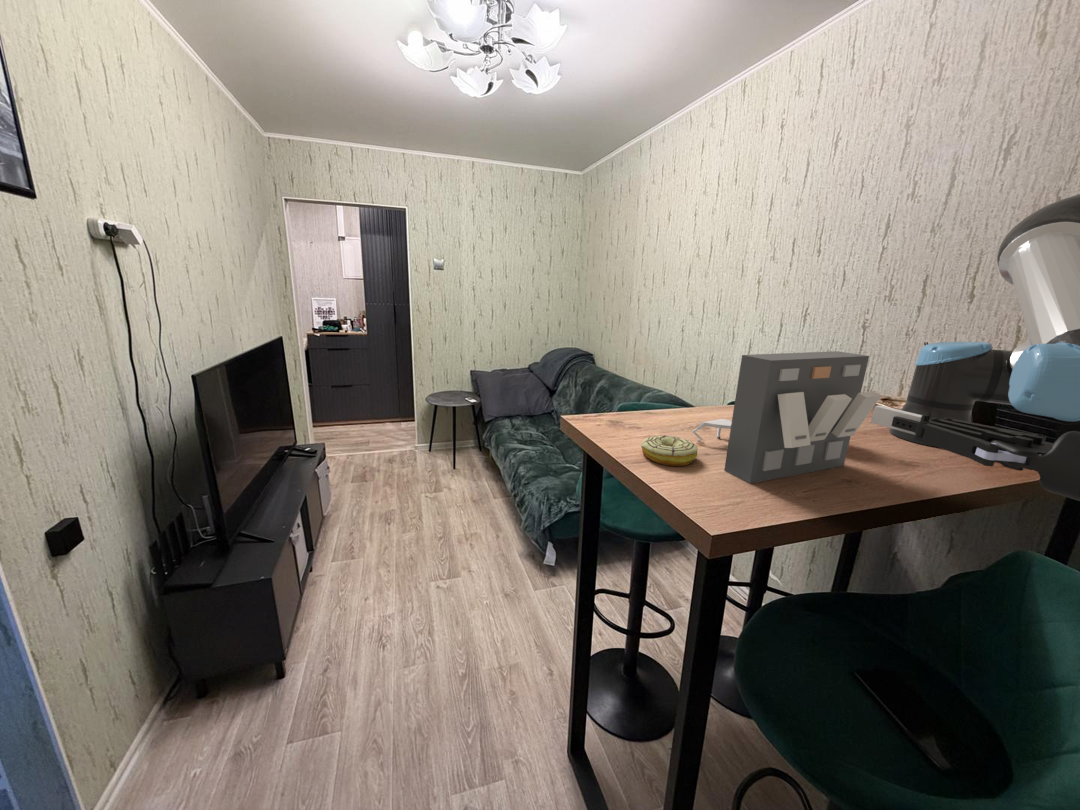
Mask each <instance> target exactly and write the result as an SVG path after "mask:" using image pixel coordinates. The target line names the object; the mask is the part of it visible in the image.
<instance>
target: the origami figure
mask: <svg viewBox="0 0 1080 810" xmlns="http://www.w3.org/2000/svg"><path fill="white" fill-rule="evenodd" d="M731 424H732V420H729V419H727V418H724V417H723V418H719V419H718V418H717V419H714V420H708V421H701V423H700V424H699V425H698V426H697V427H695V428H693V430H691V432H692V434H693V435H695V436H696V438H698V440H697V442H701V441H703V439H704V438H702V437H701V436H700V435H698V434H697V431H699V430H701V429H702V428H704V427H711V428H717V431H716V432H717V433H716V438H717V439H718V438H721V431H722V429H728V430H729V429H730V430H731Z"/></svg>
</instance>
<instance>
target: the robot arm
mask: <svg viewBox="0 0 1080 810" xmlns="http://www.w3.org/2000/svg"><path fill="white" fill-rule="evenodd" d="M996 258H997V259H996V262H997V267H998V270H999V274H1000V275H1001V276H1002V278H1003V279H1004V280H1005V281H1006V282H1007V283H1009V284H1011V285H1013V287H1014V291H1015V294H1016V296H1017V301H1018V304H1019V307H1020V311H1021V315H1022V319H1023V323H1024V325H1025V329H1026V332H1027V336H1028V340H1027V341H1025V342H1022V343H1021V344H1020V345H1018V346H1017V347H1015V349H1014V350H1005V349H993V348H994V347H993V345H992V343H990V342H986V341H945V342H931V343H928V344H926V345H924V346H923V347H922V348H921V349H920V351H919V354H918V357H917V360H916V361H915V363H914V364H915V368H914V372H913V376H912V379H911V383H910V385H909V386H910V387H909V389H908V394H907V397H906V402H905V403H904V405H903V406H902V407H901V409H897V408H894V407H893V408H892V407H890V406H886V405H885V406H884V405H875V406H874V407H873V409H872V410H873V411H872V414H871V415H872V416H871V419H870V423H871V424H873V425H878V426H880V427H886V428H889V430H888V431H889V433H890V434H891V435H893V436H895V437H898V438H899V439H902V440H904V441H905V440H906V441H908V442H912V443H915V444H916V443H917V444H920V445H924V446H925V445H926V446H930V447H934V448H938V449H942V450H945V451H946V452H947V451H948V452H951V453H954V454H956V455H958V456H962V457H965V458H967V459H970V460H972V461H974V462H976V463H978V464H981V465H983V466H984V467H994V466H995V463H998V464H1000V465H1001V466H1003V467H1004V468H1007V469H1011V470H1014V471H1023V470H1029V471H1035V472H1037V473H1038V475H1039V477H1040V478H1039V485H1040V486H1041V488H1042V489H1043V490H1045V491H1046V492H1049V493H1051V494H1056V495H1059V496H1061V497H1065V498H1068V499H1072V500H1075V501H1078V502H1080V431H1077V430H1072V431H1071V430H1069V431H1066V432H1065V433H1063V434H1061V435H1060V436H1059V437H1058V438H1057V439H1056V440H1055V441H1054V442H1052V441H1051V442H1050V441H1046V439H1047V435H1043V434H1041V433H1030V432H1024V431H1017V430H1012V429H1006V428H1001V427H997V426H992V425H987V424H981V423H976V422H973V416H972V412H973V408H974V405H975V402H983V403H984V402H985V403H993V404H1001V405H1009V406H1012V407H1014V409H1015V410H1016V411H1019V412H1021V413H1024V414H1030V415H1034V416H1035V415H1036V416H1043V417H1048V418H1053V419H1056V420H1058V421H1062V422H1063V421H1064V422H1073V423H1074V422H1079V423H1080V194H1077V195H1073V196H1069V197H1066V198H1063V199H1059V200H1057V201H1055V202H1053V203H1050V204H1047V205H1045V206H1043V207H1041V208H1039V209H1038V210H1035V211H1034V212H1032V213H1031V214H1029V215H1028V216H1026V217H1025V218H1023V219H1022V220H1021V221H1019V222H1018V223H1017V224H1016V225H1015V226H1014V227H1012V228H1011V230H1010V231H1009V232H1008V233H1007V234H1006V235H1005V237H1004V238H1003V240H1002V241H1001V243H1000V245H999V249H998V251H997V256H996Z"/></svg>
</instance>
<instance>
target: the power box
mask: <svg viewBox="0 0 1080 810" xmlns="http://www.w3.org/2000/svg"><path fill="white" fill-rule="evenodd" d="M869 359H870V355H866V354H865V355H864V354H857V353H853V352H852V353H851V352H845V351H838V350H835V351H811V352H786V353H785V352H784V353H780V352H779V353H760V354H759V353H757V354H742V355H741V360H740V367H739V372H738V378H737V379H738V381H737V386H736V393H735V398H734V405H733V410H732V416H731V417H732V419H731V421H732V424H731V429H730V431H729V436H728V437H729V438H728V443H727V448H726V449H727V450H726V456H725V463H724V472H727V473H729V475H733V476H734V477H736V478H739V479H740V480H742V481H744V482H746V483H747V484H754V483H760V482H766V481H770V480H775V479H781V478H787V477H792V476H797V475H798V476H799V475H802V474H808V473H812V472H813V473H814V472H818V471H824V470H830V469H835V468H839V467H844V466H845V461H846V457H847V454H848V448H849V446H850V445H849V444H850V440H851V437H852V436H845V437H836V436H835V435H833V434H832V431H833V430H834V428H835V427H836V425H837V424H838V422H839V421H840V419H841V418H842V416H843V415H844V413H845V412H846V411H847V409H848V408H849V406H850V405H851V403H852V402H853V400H854V399H855V397H856V396H857V394H858V393H862V389H863V385H864V384H863V383H864V382H865V381H864V380H865V376H866V371H867V368H868V364H869ZM797 392H804V399H805V406H806V413H807V421H808V426H809V424H810V423H811V421H812V420H813V418H814V416H815V415H816V413H817V412H818V410H819V409H820V407H821V405H822V404H823V402H824V401H825V399H826V397H827V396H830V395H841V394H845V395H847V396H849V397H850V398H852V399H851V401H850V402H849V404H848V405H847V407H846V408H845V410H844V411H843V413H842V414H841V416H840V417H839V419H838V420H837V422H836V423H835V425H834V426H833V428H832V429H831V431H830V432H829V434H828V435H827V437H826V438H825V440H818V441H812V442H810V443H811V445H808V446H801V447H795V448H785V447H784V439H783V432H782V424H781V417H780V409H779V402H778V394H786V393H797Z"/></svg>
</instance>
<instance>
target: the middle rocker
mask: <svg viewBox="0 0 1080 810" xmlns="http://www.w3.org/2000/svg"><path fill="white" fill-rule="evenodd" d="M851 399H852V398H850V397H849V396H847V395H845V394H841V395H830V396H827V397H826V399H825V401H824V402H823V404H822V405H821V407H820V409H819V410H818V412H817V413H816V415H815V416H814V418H813V420H812V421H811V423H810V424H809V426H808V428H809V436H810V442H812V441H818V440H825V438H826V437H827V435H828V434H829V432H830V431H831V429H832V428H833V426H834V425H835V423H836V422H837V420H838V419H839V417H840V416H841V414H842V413H843V411H844V410H845V408H846V407H847V405H848V404H849V402H850V401H851Z"/></svg>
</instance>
